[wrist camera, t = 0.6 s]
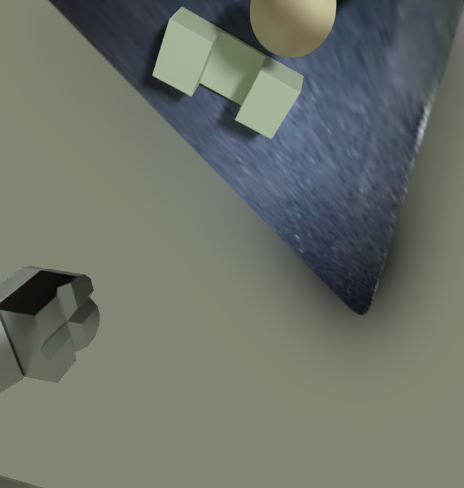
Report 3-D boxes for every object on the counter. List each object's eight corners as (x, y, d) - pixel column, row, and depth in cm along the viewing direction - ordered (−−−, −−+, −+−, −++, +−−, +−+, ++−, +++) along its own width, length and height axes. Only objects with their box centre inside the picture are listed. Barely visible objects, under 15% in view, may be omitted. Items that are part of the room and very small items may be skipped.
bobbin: (285, -72, 39) (275, -58, 34) (353, -29, 41) (354, -8, 35) (249, 8, 45) (236, 32, 40) (310, 44, 46) (305, 72, 41)
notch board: (181, 6, 46) (169, 18, 43) (303, 76, 49) (300, 92, 46) (164, 61, 51) (152, 75, 48) (275, 121, 54) (271, 139, 51)
